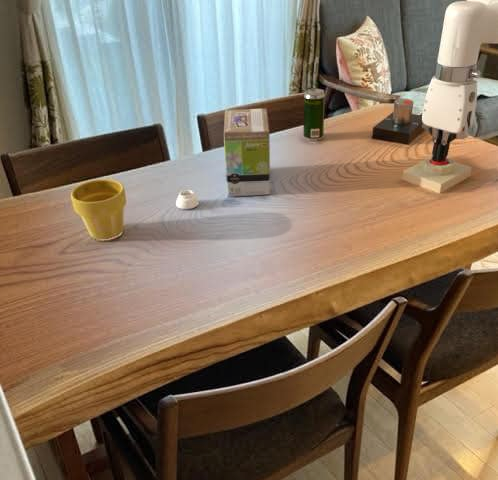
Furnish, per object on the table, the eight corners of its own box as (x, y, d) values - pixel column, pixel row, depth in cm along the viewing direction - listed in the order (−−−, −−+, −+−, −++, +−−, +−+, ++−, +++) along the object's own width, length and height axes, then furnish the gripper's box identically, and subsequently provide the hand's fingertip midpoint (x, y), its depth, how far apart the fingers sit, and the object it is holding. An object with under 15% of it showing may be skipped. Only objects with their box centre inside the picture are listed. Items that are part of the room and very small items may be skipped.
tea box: (271, 195, 121) (270, 129, 112) (227, 197, 121) (221, 132, 112) (268, 167, 133) (266, 106, 123) (228, 169, 133) (223, 108, 123)
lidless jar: (176, 201, 121) (176, 211, 117) (175, 188, 119) (174, 199, 115) (199, 199, 121) (199, 209, 117) (197, 187, 119) (197, 197, 116)
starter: (432, 164, 129) (435, 147, 127) (470, 176, 123) (474, 159, 121) (401, 180, 124) (404, 163, 121) (439, 193, 118) (442, 176, 115)
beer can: (326, 139, 144) (328, 93, 137) (307, 142, 144) (307, 96, 136) (319, 132, 148) (320, 87, 141) (300, 135, 148) (301, 89, 140)
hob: (392, 121, 152) (394, 110, 150) (427, 127, 148) (429, 115, 146) (371, 138, 144) (373, 126, 142) (407, 145, 139) (409, 133, 137)
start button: (436, 162, 124) (437, 154, 123) (449, 166, 122) (451, 159, 120) (426, 167, 122) (427, 159, 121) (440, 171, 120) (441, 164, 119)
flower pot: (142, 231, 111) (134, 187, 105) (100, 252, 106) (88, 207, 100) (114, 216, 117) (104, 173, 111) (72, 235, 112) (59, 191, 105)
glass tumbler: (389, 122, 143) (391, 101, 140) (396, 117, 146) (399, 96, 143) (406, 126, 141) (409, 104, 138) (413, 120, 144) (416, 99, 140)
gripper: (499, 75, 106) (478, 163, 118) (434, 62, 115) (420, 145, 127) (478, 83, 103) (458, 174, 114) (412, 69, 112) (401, 155, 123)
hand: (438, 159), depth 121 cm, fingers closed
